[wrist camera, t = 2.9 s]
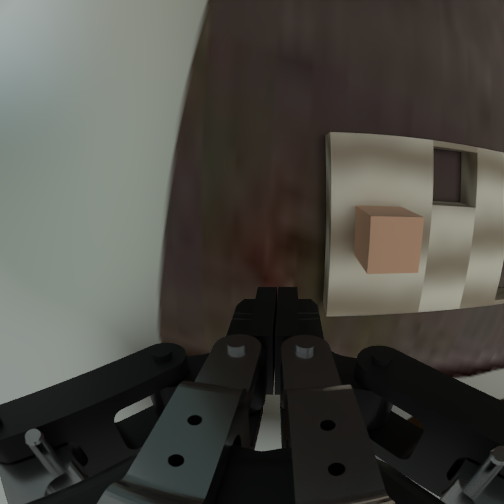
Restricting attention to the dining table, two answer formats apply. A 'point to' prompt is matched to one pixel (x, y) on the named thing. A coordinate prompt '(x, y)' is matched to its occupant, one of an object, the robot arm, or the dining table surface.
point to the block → (388, 239)
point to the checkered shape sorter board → (434, 229)
